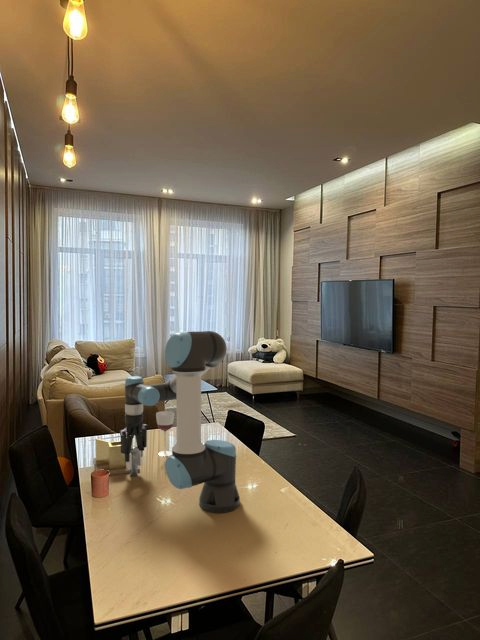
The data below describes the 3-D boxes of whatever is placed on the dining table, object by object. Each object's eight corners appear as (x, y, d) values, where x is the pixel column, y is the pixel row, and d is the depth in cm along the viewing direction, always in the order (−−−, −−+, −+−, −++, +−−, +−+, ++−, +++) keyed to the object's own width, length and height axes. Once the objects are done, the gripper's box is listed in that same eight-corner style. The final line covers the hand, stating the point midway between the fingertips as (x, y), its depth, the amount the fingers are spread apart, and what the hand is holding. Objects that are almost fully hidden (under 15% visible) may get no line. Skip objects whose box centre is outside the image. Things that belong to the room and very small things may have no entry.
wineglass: (172, 456, 212) (172, 415, 211) (154, 456, 212) (154, 415, 211) (175, 451, 220) (175, 411, 219) (157, 450, 220) (157, 410, 219)
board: (139, 471, 194) (139, 468, 194) (96, 477, 187) (96, 474, 187) (132, 455, 213) (133, 453, 213) (93, 460, 206) (93, 458, 206)
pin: (138, 476, 189) (138, 448, 189) (130, 477, 188) (130, 449, 187) (137, 473, 192) (137, 446, 192) (129, 474, 191) (129, 446, 190)
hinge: (136, 466, 197) (136, 443, 197) (97, 470, 191) (97, 448, 190) (132, 455, 209) (132, 435, 209) (95, 460, 203) (95, 438, 203)
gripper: (144, 407, 198) (144, 458, 199) (111, 415, 184) (111, 470, 185) (155, 410, 193) (155, 463, 195) (122, 418, 180) (122, 475, 181)
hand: (133, 466), depth 190 cm, fingers open, 4 cm apart
